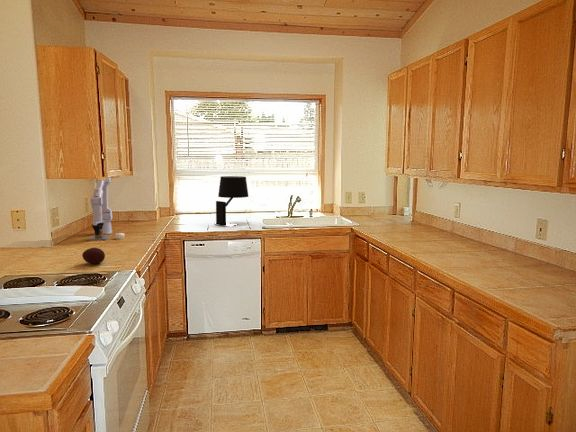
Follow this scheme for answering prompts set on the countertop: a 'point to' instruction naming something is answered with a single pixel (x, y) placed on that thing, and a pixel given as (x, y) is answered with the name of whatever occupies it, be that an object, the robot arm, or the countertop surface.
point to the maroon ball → (93, 255)
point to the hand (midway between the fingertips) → (98, 234)
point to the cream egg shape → (119, 236)
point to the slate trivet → (98, 238)
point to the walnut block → (100, 234)
